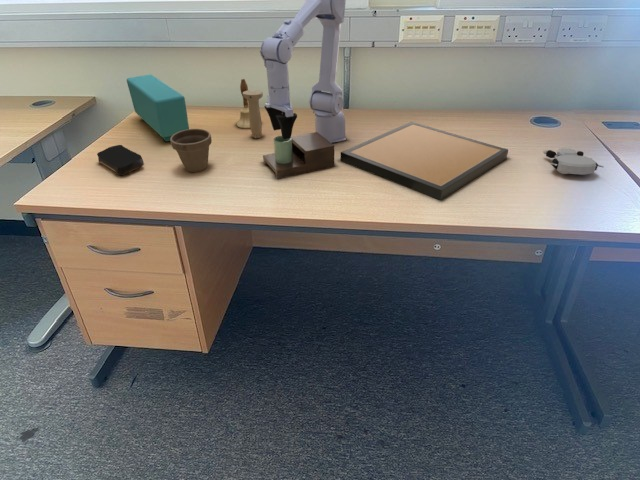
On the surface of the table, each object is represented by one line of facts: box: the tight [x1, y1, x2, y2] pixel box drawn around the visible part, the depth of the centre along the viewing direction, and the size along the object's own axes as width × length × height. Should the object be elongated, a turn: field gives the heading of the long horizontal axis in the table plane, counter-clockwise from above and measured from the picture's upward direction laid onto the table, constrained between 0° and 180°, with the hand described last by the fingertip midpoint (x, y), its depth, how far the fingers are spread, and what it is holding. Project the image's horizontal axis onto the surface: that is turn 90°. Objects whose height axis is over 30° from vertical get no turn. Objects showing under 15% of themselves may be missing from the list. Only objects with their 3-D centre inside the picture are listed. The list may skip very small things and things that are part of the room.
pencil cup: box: [273, 135, 293, 164], centre depth 132 cm, size 5×5×6 cm
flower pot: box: [169, 128, 212, 173], centre depth 133 cm, size 12×11×10 cm
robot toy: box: [542, 147, 604, 176], centre depth 130 cm, size 12×4×15 cm
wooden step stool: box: [262, 131, 335, 180], centre depth 135 cm, size 18×12×7 cm, turn 115°
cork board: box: [340, 121, 509, 201], centre depth 137 cm, size 36×3×35 cm
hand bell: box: [236, 78, 251, 129], centre depth 161 cm, size 8×8×16 cm
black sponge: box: [96, 144, 145, 176], centre depth 137 cm, size 16×8×4 cm, turn 46°
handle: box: [242, 89, 264, 139], centre depth 151 cm, size 5×6×15 cm
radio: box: [126, 73, 190, 142], centre depth 160 cm, size 34×10×15 cm, turn 34°
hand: (281, 133), depth 131 cm, fingers open, 7 cm apart
